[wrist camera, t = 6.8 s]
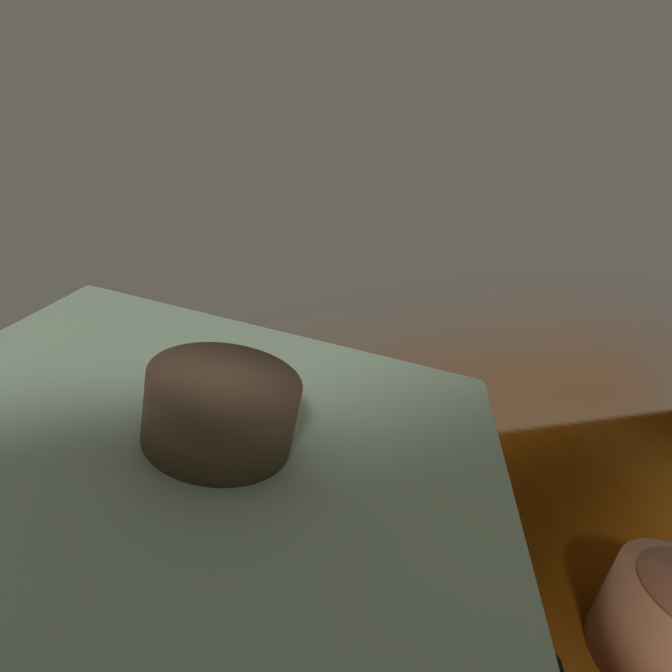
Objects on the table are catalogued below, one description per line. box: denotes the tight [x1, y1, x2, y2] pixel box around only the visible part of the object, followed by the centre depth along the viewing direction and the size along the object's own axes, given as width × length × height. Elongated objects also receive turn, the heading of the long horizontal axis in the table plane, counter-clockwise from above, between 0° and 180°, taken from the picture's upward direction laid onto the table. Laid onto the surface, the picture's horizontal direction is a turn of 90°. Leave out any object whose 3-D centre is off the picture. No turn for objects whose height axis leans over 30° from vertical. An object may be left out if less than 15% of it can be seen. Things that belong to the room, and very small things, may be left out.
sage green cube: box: [0, 285, 560, 672], centre depth 11 cm, size 10×10×11 cm
